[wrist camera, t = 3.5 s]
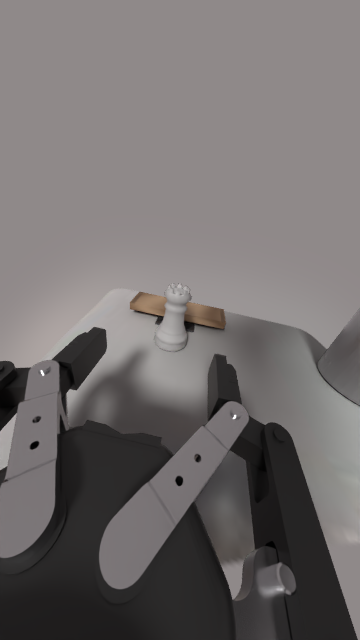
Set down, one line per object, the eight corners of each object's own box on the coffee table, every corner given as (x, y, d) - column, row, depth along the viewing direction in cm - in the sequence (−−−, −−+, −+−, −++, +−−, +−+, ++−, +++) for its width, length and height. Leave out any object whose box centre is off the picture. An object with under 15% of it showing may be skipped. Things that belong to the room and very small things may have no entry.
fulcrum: (195, 312, 33) (196, 308, 33) (193, 332, 27) (194, 328, 27) (164, 305, 33) (164, 302, 33) (155, 324, 28) (155, 320, 27)
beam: (221, 315, 32) (223, 309, 31) (223, 329, 28) (225, 322, 27) (139, 298, 32) (139, 291, 31) (129, 309, 28) (130, 302, 28)
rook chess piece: (147, 347, 23) (153, 288, 19) (160, 329, 27) (167, 277, 23) (180, 357, 22) (194, 299, 18) (189, 338, 26) (201, 286, 22)
